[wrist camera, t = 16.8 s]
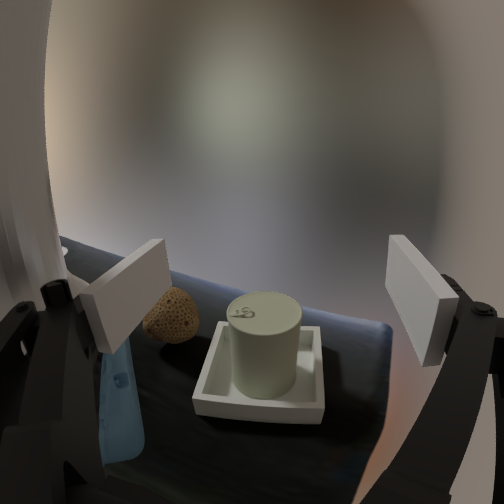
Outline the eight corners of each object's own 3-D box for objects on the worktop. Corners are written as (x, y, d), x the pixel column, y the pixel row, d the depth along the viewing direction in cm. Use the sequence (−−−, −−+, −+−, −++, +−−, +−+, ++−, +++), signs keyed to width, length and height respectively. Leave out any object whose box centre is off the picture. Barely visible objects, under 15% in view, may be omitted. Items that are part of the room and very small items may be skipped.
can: (228, 356, 45) (223, 290, 40) (287, 349, 46) (292, 284, 41) (235, 403, 37) (229, 336, 32) (303, 393, 38) (313, 326, 33)
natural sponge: (214, 339, 50) (209, 288, 46) (175, 368, 43) (163, 316, 39) (178, 319, 55) (170, 271, 51) (141, 342, 48) (127, 293, 44)
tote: (196, 414, 36) (192, 398, 34) (220, 338, 50) (218, 321, 49) (320, 424, 34) (324, 408, 32) (317, 343, 48) (319, 326, 47)
